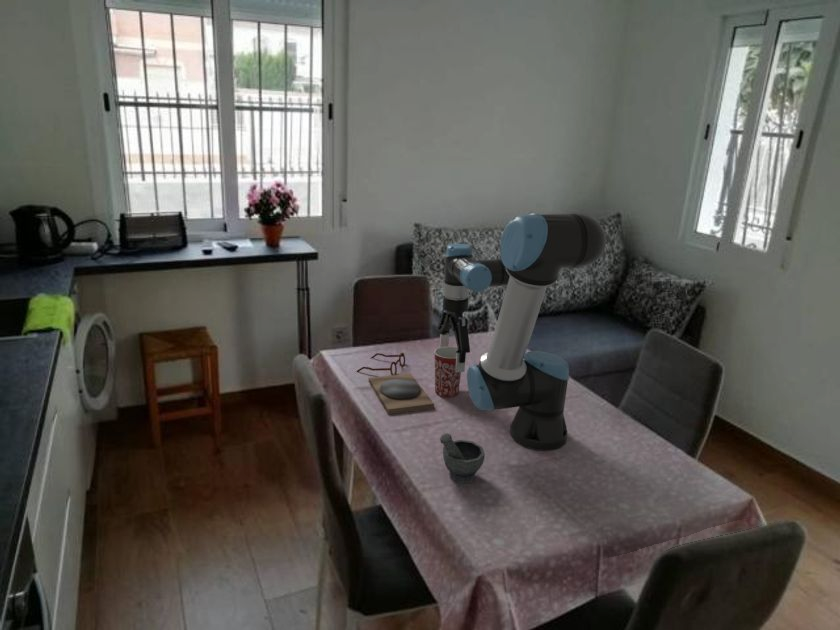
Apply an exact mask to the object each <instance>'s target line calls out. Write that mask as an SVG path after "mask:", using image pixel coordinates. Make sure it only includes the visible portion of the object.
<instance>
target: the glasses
mask: <svg viewBox="0 0 840 630" xmlns="http://www.w3.org/2000/svg"><path fill="white" fill-rule="evenodd" d="M377 356H382V357H385V358H398V359H397V360H396V361H392V362H391V363H390V366H389V367H384V368H383V367H380V368H375V367H374V368H372V367H369V366H362V367H360V368H359V369H357V370H356V371H357V372H356V373H359V372H361V371H362V370H364V369H365V370H370V371H377V372H378V371H390V375H397V372H398V370H397V369H398V368H397V365H398V363H399V366H400V367H401V368H403V367H404V366H405V364H406V356H405V353H404V352H400V354H387V355H386V354H384V353H378V352H377V353H375V354H374V355H372V356H371V357H370V359H372V358H373V359H374V358H375V357H377ZM401 357H403V363H402V360H401V359H402V358H401ZM393 365H394V373H393Z"/></svg>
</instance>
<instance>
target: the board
mask: <svg viewBox="0 0 840 630" xmlns="http://www.w3.org/2000/svg"><path fill="white" fill-rule="evenodd" d="M368 383H370V384H369V386H370V387H371V388H372V390H373V392H374V393H375V395H376V397H377V398H378V400H379V402H380V403H381V405H382V408H383V409H384V410H385V412H386V413H387V415H390V414H391V413H393V414H400V413H407V412H408V413H409V412H415V411H424V410H430V409H431V410H433V409H435V403H434V402H433V400H432V399H431V397H430V396H428V394H427V393H426V391H425V390H424V389H423V387H422V386H421V385H420V384H419V382H418V381H417V380H416V378H415V376H414V375H413V374H412V373H410V372H409V373H403V374H402V373H400V374H396V375H394V374H393V375H391V374H390V375H381V376H373V377H368ZM391 415H392V414H391Z"/></svg>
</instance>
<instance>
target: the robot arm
mask: <svg viewBox="0 0 840 630" xmlns="http://www.w3.org/2000/svg"><path fill="white" fill-rule="evenodd" d="M500 239H501V240H500V248H501V249H500V259H478V260H477V259H474V258H473V255H474V254H473V247H472V246H471V245H468V244H466V243H465V244H464V243H451V244H449V245H448V246H447V247H446V252H445V257H444V259H445V262H444V263H445V265H444V280H443V291H442V293H443V294H442V295H443V297H442V311H441V315H440V319H439V321H438V324H437V330H439V347H438V348H440V347H449V342H450V341H449V340H450V333H451V332H450V330H452V331H453V332H454V337H455V341H456V346H457V347H456V348H458V350H457V351H456V367H455V372H461V373H464V372H465V370H466V369H465V368H466V357H467V354H468V353H469V354H470V353H471V347H470V339H469V338H470V337H469V331H468V325H469V324H468V321H469V320H468V318H464V316H463V313H464V312H467V311H468V309H469V295H470V291H472V292H476V293H480V292H483V291H485V290H486V289H488V288H493V287H494V288H495V287H505V293H504V297H503V299H502V303H501V305H500V310H499V314H498V318H497V321H496V325H495V327H494V332H493V336H492V339H491V343H490V346H489V349H488V350H485V351H484V352H483V353H482V354H481V356H480V359H479V363H478V364H473V365H470V366H469V367H468V368H467V372H466V383H467V389H468V393H469V396H470V399H471V401H472V403H473V404H474V406H475V407H476V408H477V409H478V410H480V411H495V410H503V409H510V408H518V409H517V411H516V412H515V415H514V417H513V420H512V421H511V424H510V431H509V432H510V433H509V434H510V437H511V438H512V440H513V441H514V442H516V443H517V444H519V445H521V446H522V447H525V448H529V449H532V450H537V451H553V450H558V449H561V448H562V447H564V446H565V445H566V444H567V440H568V429H567V424H566V419H565V418H566V417H565V415H564V413H565V412H564V411H565V403H566V397H567V390H568V383H569V382H568V381H569V380H570V377H569V376H570V375H569V373H570V366H569V363H568V362H567V361H566V360H565V359H563V358H562V357H560V356H558V355H556V354H553V353H549V352H546V351H540V350H531V351H528V347H529V343H530V340H531V337H532V335H533V331H534V328H535V325H536V322H537V319H538V315H539V313H540V309H541V306H542V303H543V300H544V297H545V295H546V293H547V292H546V290H547V289H548V287H550V286H552V285H554V284H555V283H556V282H557V281H558V277H559V274H560V271H561V270H564V269H580V268H583V267H589V266H590V265H593V264H594V263H596V262H597V261H599V260H600V258H601V257H602V256H603V254H604V253H605V250H606V248H607V247H606V246H607V236H606V232H605V230H604V228H603V226H602V225H601V224H600V223H599V222H598V221H597V220H596V219H595V218H593V217H591V216H589V215H586V214H581V213H570V214H569V213H567V214H566V213H563V214H562V213H559V214H557V213H554V214H539V213H530V214H523V215H517V216H516V217H514V218H512V219H511V220H510V221H508V223H507V225H506V226H505V228H504V230H503V232H502V236H501V238H500Z"/></svg>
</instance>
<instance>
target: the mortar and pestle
mask: <svg viewBox="0 0 840 630" xmlns="http://www.w3.org/2000/svg"><path fill="white" fill-rule="evenodd" d="M439 441H440V444H443V447H442V456H443V461H444V462H443V463H444V465H445V467H446V469H447V470H448V471H449V473H448V475H449V479H450V480H452V481H453V482H455V483H460V484H468V483H471V482H473V481H474V480H475V479H476V473H478V471H479V470H480V469H481V468H482V466H483V464H484V461H485V457H486V456H485V455H486V454H485V450H484V449H483V446H481V445H480V444H478V443H476V442H474V441H472V440H471V441H470V440H466V439H465V440H463V439H457V440H453V437H452V435H451V434H450V433H444V434H442V435H441V436H440V438H439Z"/></svg>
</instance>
